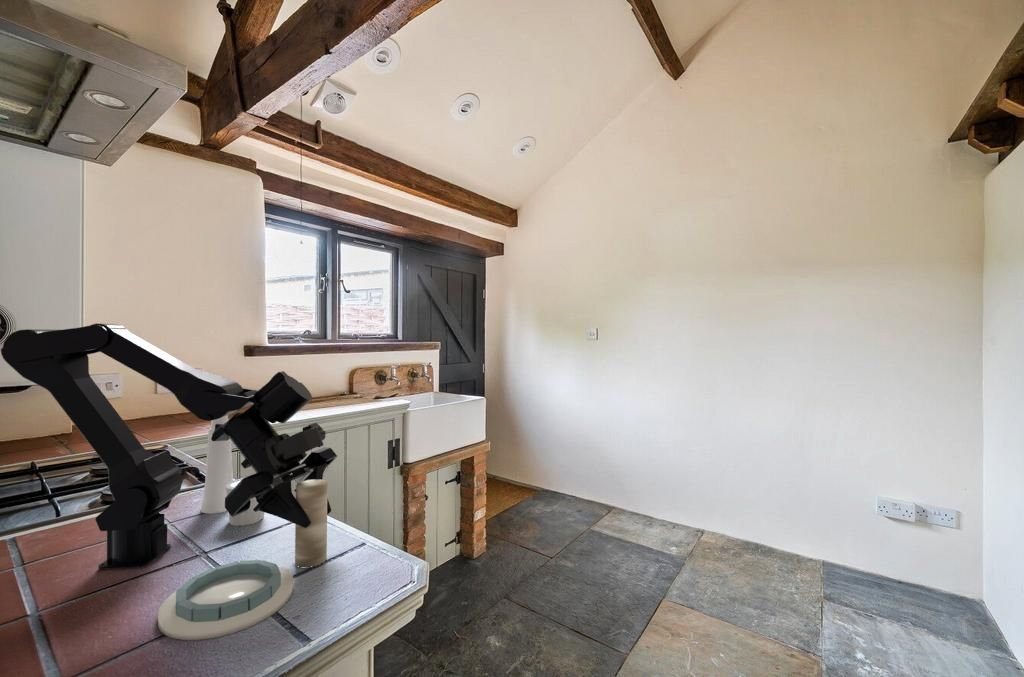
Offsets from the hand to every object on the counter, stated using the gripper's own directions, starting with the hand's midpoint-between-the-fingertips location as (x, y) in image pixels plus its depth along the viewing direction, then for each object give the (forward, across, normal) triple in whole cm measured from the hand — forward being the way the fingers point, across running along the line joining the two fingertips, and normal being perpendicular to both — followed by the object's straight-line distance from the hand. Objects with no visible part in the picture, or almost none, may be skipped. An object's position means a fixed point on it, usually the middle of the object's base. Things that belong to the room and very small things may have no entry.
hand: (319, 519), depth 69 cm
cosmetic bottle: (-18, +13, +28) cm, 36 cm away
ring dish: (+1, -12, +8) cm, 14 cm away
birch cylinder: (+4, 0, +6) cm, 7 cm away
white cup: (-12, +10, +21) cm, 26 cm away
